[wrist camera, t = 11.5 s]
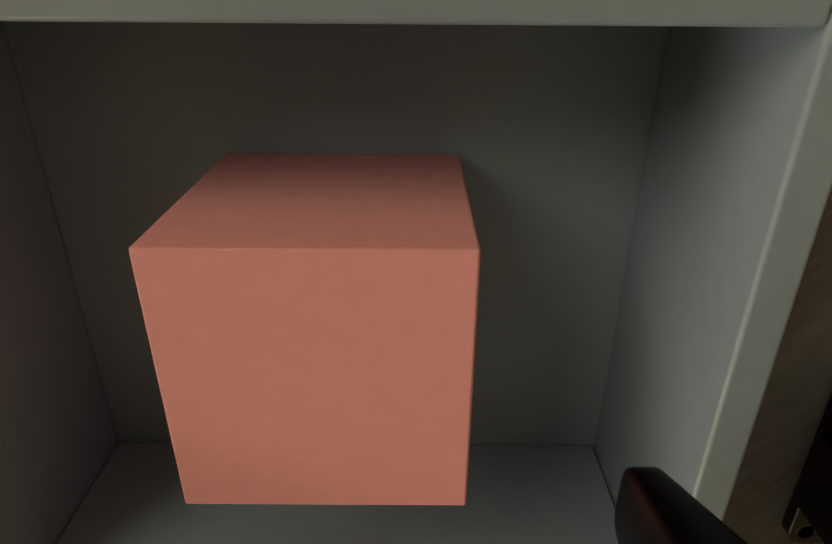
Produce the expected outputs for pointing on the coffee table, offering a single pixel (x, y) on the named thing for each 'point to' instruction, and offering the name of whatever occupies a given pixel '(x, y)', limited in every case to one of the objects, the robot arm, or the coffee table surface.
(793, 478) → the coffee table surface
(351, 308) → the pink cube
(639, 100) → the bin
